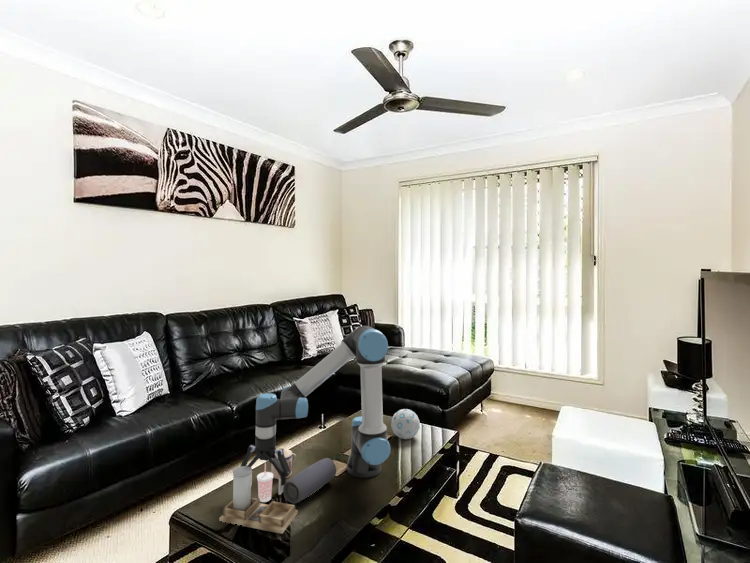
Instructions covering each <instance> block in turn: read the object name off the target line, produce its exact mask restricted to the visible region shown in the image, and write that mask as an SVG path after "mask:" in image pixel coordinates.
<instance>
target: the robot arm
mask: <svg viewBox="0 0 750 563" xmlns="http://www.w3.org/2000/svg"><path fill="white" fill-rule="evenodd" d="M388 349H389V344H388V339H387V337H386V336H385V334H383V332H381V331H380V330H378V329H375V328H373V327H372V326H369V325H360V326H359V327H357V328H355V329H354V330H352V331H351V332H350V333H349V334H347V336H345V337H344V338H343V339H341V340H340V345H338V346H337V347H336V348H335V349H333V350H332V351H331V352H329V354H328V355H326V356H325V357H323V359H321V361H318V363H316V365H314V366H313V367H312V368H311V369H309V371H307V372H306V373H305V374H303V375H302V376H301V377H300V378H299V379H298V380H296V381H295V382H294V383H293V384H291V385H289V386H286V387H284V388H283V389H282V391H281V393H280V398H277V395H276V393H270V392H267V393H262V394H259V395H257V397H256V402H255V403H256V404H255V434H254V435H255V438H254V439H255V440H254V441H255V443H254V444H255V445H254V444H250V445H249V446H248V447H247V452H246V455H245V456H244V459H243V460H242V462H241V464H240V466H249V467H251V468H252V467H253V466H254V465H255V463H256V462H257V461H258V460H259V461H265V462H268V461H269V463H270V464H271V463H272V464H273V466H274V467H275V469H276V470H277V472H278V473H279V475H280V477H279V479H278V490H277V491H278V493H277V494H278V496H281V495H282V493H283V488H284V485H285V483H286V482H287V478H286V477H287V476H288V475H289V474H290V473H291V471H290V469H289V466H288V464H287V461H286V459H285V457H284V453H283V449H280V448H279V449H280V450H278V449H276V446H277V445H276V443H277V440H276V439H277V436H276V433H277V421H278V420H289V419H298V420H299V419H302V418H307V417H308V413H309V403H308V402H309V400H308V398H307V396H309V395H310V394H312V392H314V390H316V389H317V388H318V387H320V386H321V385H322V384H323V383H324V382H325V381H326V380H328V379H329V378H330V377H332V375H333V374H335V373H336V372H337V371H338V370H339V369H340V368H341V367H343V366H344V365H345V364H347V363H348V362H349V361H350V360H351V359H356V364H357V365H358V366H359V367H360V395H361V396H360V397H361V403H360V404H361V416H356V417H354V418H353V419H352V420H351V425H350V427H351V429H350V430H351V434H350V435H351V436H350V438H351V441H350V442H351V443H350V454H349V457H348V459H347V462H346V471H348V472H347V473H348V474H349V475H350V476H352V477H356V478H359V479H360V478H361V479H363V478H364V479H369V478H372V477H373V478H374V477H376V476H377V475H379V474H380V473H381V471H382V463H384V462H385V461H386V460H387V459H388V458H389V456H390V454H391V450H392V449H391V444H390V442H389V441H388V429H387V428H388V427H387V425H386V424H385V423H384V417H383V416H384V412H383V408H384V407H383V379H382V378H383V375H382V373H383V371H382V366H383V365H384V364H385V363H386V354H387V352H388ZM254 452H255V454H256V455H255V456H254V457H253V458H252V460H251V461H250V459H251V457H252V455H253V453H254ZM275 453H276V454H277V456H278V459H279V461H278V460H277V457H276V455H275ZM272 457H273V459H272ZM249 461H250V462H249ZM248 462H249V463H248ZM252 481H253V471H252V472H251V487H252V484H253V482H252Z"/></svg>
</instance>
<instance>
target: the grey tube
mask: <svg viewBox="0 0 750 563" xmlns="http://www.w3.org/2000/svg"><path fill="white" fill-rule="evenodd" d="M251 472H252V473H253V469H252V467H249V466H241V465H240V466H237V467H235V468H234V469H233V470H232V475H233V476H232V478H233V483H232V484H233V486H232V489H233V490H232V500H233V509H235V510H241V511H246V510H247V509H248V508H249V507H250V506H251V496H252V486H251Z"/></svg>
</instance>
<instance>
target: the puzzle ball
mask: <svg viewBox="0 0 750 563" xmlns="http://www.w3.org/2000/svg"><path fill="white" fill-rule="evenodd" d="M390 422H391V423H390V425H391V426H390V427H391V431H392V432H393V434H394V435H396V436H397V437H398V438H400V439H401V440H410V439H412V438H414V437H415V436H416V435H417V434H418V432H419V430H420V427H421V426H420V424H421V423H420V419H419V417H418V415H417V414H416V412H415V411H413V410H412V409H408V408H403V409H402V408H401V409H399V410H397V411H396V412H395V413H394V414H393V416H392V417H391V421H390Z"/></svg>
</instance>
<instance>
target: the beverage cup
mask: <svg viewBox="0 0 750 563" xmlns="http://www.w3.org/2000/svg"><path fill="white" fill-rule="evenodd" d="M256 479H257V490H258V491H257V494H258V496H257V497H258V499H260V503H267V502H269V501H270V500H272V492H273V491H272V490H273V479H274V478H273V473H271V471H267V461H265V462H264V471H263V472H262V471H261V472H259V473H258V474H257V475H256Z"/></svg>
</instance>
